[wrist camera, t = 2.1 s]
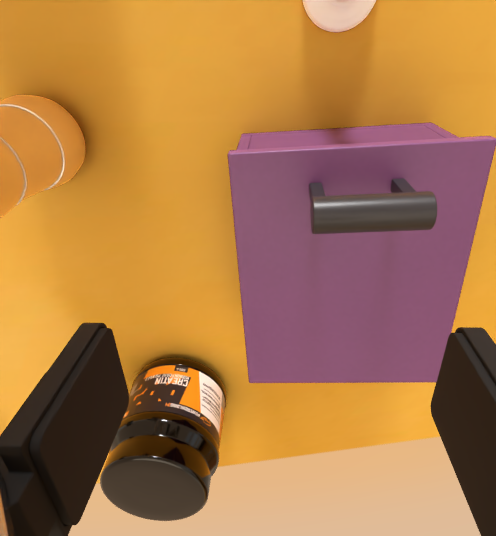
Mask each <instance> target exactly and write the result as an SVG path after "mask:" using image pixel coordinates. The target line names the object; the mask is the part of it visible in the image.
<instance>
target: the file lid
mask: <svg viewBox="0 0 496 536" xmlns="http://www.w3.org/2000/svg"><path fill="white" fill-rule="evenodd" d="M495 146H496V138H494V137H491V136H479V137H461V138H443V139H425V140H408V141H390V142H372V143H354V144H336V145H318V146H300V147H282V148H265V149H247V150H230V151H229V153H228V164H229V174H230V185H231V196H232V206H233V217H234V227H235V238H236V249H237V259H238V270H239V280H240V291H241V301H242V312H243V323H244V333H245V344H246V354H247V365H248V376H249V382H250V383H358V382H437V379H438V375H439V371H440V367H441V363H442V360H443V356H444V352H445V348H446V344H447V341H448V337H449V335H450V333H451V331H452V327H453V322H454V318H455V314H456V310H457V306H458V301H459V297H460V293H461V289H462V285H463V280H464V276H465V272H466V268H467V264H468V259H469V255H470V251H471V247H472V243H473V238H474V234H475V230H476V226H477V222H478V217H479V213H480V209H481V205H482V201H483V197H484V192H485V188H486V184H487V180H488V176H489V171H490V167H491V163H492V159H493V155H494V150H495Z"/></svg>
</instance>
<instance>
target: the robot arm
mask: <svg viewBox="0 0 496 536" xmlns="http://www.w3.org/2000/svg"><path fill="white" fill-rule="evenodd" d="M128 404H129V393H128V389H127V385H126V381H125V378H124V374H123V370H122V366H121V362H120V358H119V355H118V351H117V347H116V343H115V339H114V335H113V332H112V330H111V329H110V328H107V327H106V325H105V324H104V323H83V324H82V325H81V326H80V327H79V328H78V330H77V331H76V332H75V334H74V335H73V337H72V338H71V339H70V341H69V342H68V344H67V345H66V346H65V348H64V349H63V351H62V352H61V353H60V355H59V356H58V358H57V359H56V360H55V362H54V363H53V365H52V366H51V367H50V369H49V370H48V371H47V372H46V373H45V375H44V376H43V377H42V379H41V380H40V381H39V383H38V384H37V386H36V387H35V388H34V390H33V391H32V392H31V394H30V395H29V397H28V398H27V399H26V401H25V402H24V404H23V405H22V406H21V408H20V409H19V411H18V412H17V413H16V415H15V416H14V418H13V419H12V420H11V422H10V423H9V425H8V426H7V427H6V429H5V430H4V431H3V433H2V434H1V436H0V536H68V534H69V531H70V529H71V527H72V525H76V524H77V523H78V522H79V521H80V519H81V517H82V515H83V512H84V510H85V507H86V505H87V503H88V500H89V498H90V496H91V493H92V491H93V489H94V486H95V484H96V481H97V479H98V477H99V474H100V472H101V470H102V467H103V465H104V462H105V460H106V458H107V455H108V453H109V451H110V448H111V446H112V443H113V441H114V439H115V436H116V434H117V432H118V429H119V427H120V425H121V422H122V420H123V417H124V415H125V413H126V410H127V408H128ZM431 413H432V417H433V419H434V422H435V424H436V427H437V429H438V432H439V434H440V436H441V439H442V441H443V444H444V446H445V448H446V451H447V453H448V456H449V458H450V461H451V463H452V466H453V468H454V471H455V473H456V475H457V478H458V480H459V483H460V485H461V488H462V490H463V493H464V495H465V497H466V500H467V502H468V505H469V507H470V510H471V512H472V514H473V517H474V519H475V522H476V524H477V527H478V529H479V531H480V534H481V536H496V344H495V343H494V342H493V340H492V339H491V338H490V336H489V335H488V333H487V332H486V331H485V330H484V329H483V328H462V327H460V328H458V329H457V330H456V332H455V333H450V335H449V337H448V341H447V344H446V348H445V352H444V356H443V360H442V363H441V367H440V371H439V375H438V379H437V382H436V386H435V390H434V394H433V397H432V401H431Z"/></svg>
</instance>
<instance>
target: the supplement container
mask: <svg viewBox="0 0 496 536" xmlns="http://www.w3.org/2000/svg"><path fill="white" fill-rule="evenodd" d="M225 407H226V391H225V387H224V385H223V383H222V381H221V380H220V378H219V377H218V376H217V375H216V374H215V373H214V372H213V371H212V370H211V369H210V368H208V367H207V366H205V365H203V364H201V363H199V362H196V361H193V360H190V359H185V358H164V359H160V360H157V361H154V362H152V363H150V364H148V365H147V366H145V367H144V368H143V369H142V370H141V371H140V372H139V373H138V375H137V376H136V378H135V380H134V382H133V385H132V389H131V392H130V394H129V404H128V408H127V410H126V413H125V415H124V417H123V420H122V422H121V425H120V427H119V429H118V432H117V434H116V436H115V439H114V441H113V443H112V446H111V448H110V451H109V456H108V459H107V461H106V464H105V466H104V469H103V471H102V474H101V478H100V484H101V488H102V490H103V492H104V494H105V495H106V497H107V498H108V499H109V500H110V501H111V502H112V503H113V504H114V505H116V506H117V507H118V508H120V509H122V510H123V511H125V512H127V513H130V514H132V515H135V516H138V517H141V518H145V519H150V520H159V521H171V520H179V519H183V518H187V517H189V516H191V515H194V514H195V513H197V512H198V511H200V510H201V509H202V508H203V506H204V505H205V503H206V501H207V499H208V493H209V487H210V480H211V476H212V475H213V474H214V473H215V471H216V469H217V466H218V462H219V446H220V439H221V431H222V424H223V417H224V410H225Z"/></svg>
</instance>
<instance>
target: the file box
mask: <svg viewBox="0 0 496 536" xmlns="http://www.w3.org/2000/svg"><path fill="white" fill-rule="evenodd" d="M443 138H459V137H457V136H455V135H453V134H451V133H449V132H448V131H446V130H444V129H442V128H440V127H438V126H437V125H435V124H433V123H417V124H400V125H383V126H366V127H350V128H333V129H316V130H299V131H282V132H266V133H249V134H242V135H241V139H240V142H239V144H238V147H237V150H247V149H265V148H282V147H300V146H318V145H336V144H354V143H372V142H390V141H408V140H425V139H443Z"/></svg>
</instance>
